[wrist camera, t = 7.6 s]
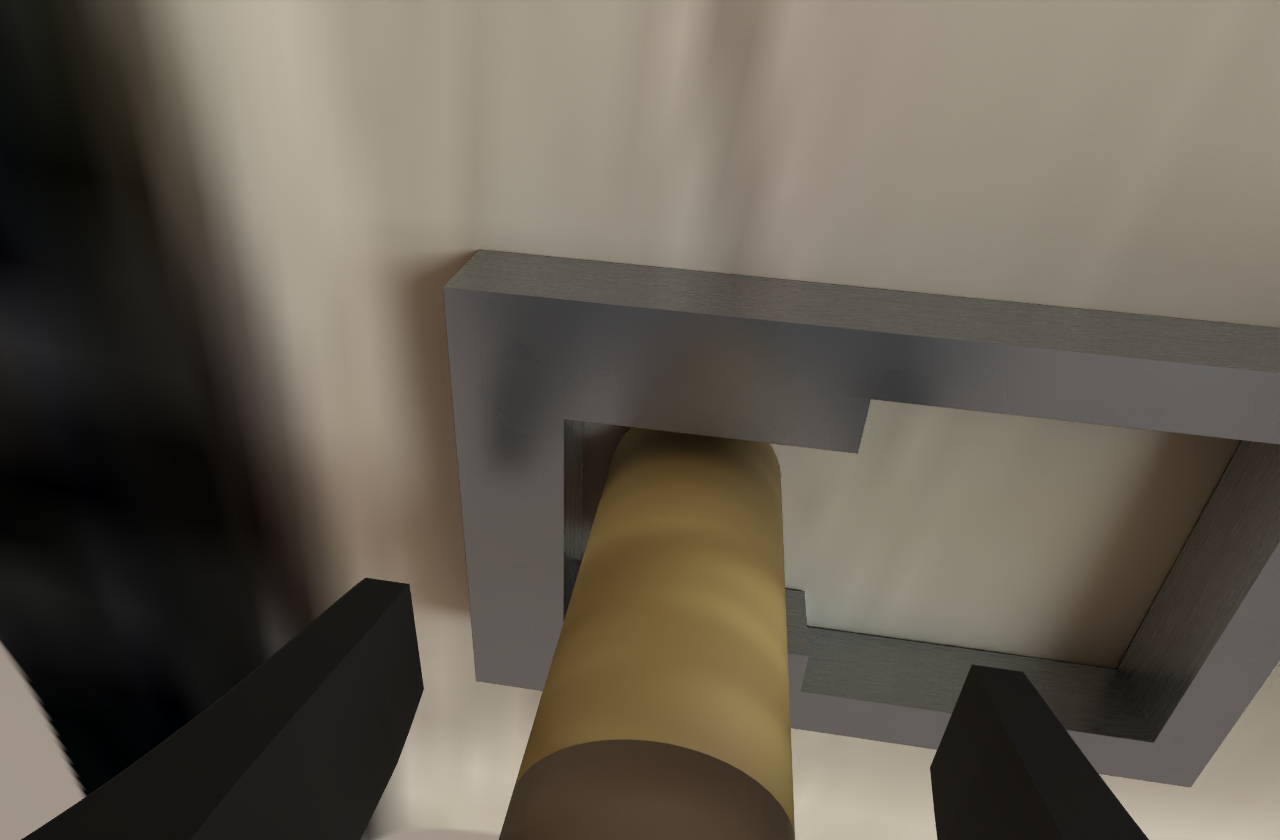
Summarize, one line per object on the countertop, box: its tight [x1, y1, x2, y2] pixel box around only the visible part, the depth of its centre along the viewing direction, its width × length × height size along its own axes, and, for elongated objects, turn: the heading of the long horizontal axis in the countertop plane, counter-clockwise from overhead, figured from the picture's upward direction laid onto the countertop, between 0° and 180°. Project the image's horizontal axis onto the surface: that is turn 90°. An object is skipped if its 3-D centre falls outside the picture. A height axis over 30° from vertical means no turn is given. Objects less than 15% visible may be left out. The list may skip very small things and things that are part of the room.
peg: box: [499, 427, 795, 840], centre depth 10 cm, size 3×3×8 cm
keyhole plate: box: [443, 250, 1280, 787], centre depth 13 cm, size 13×8×2 cm, turn 87°
